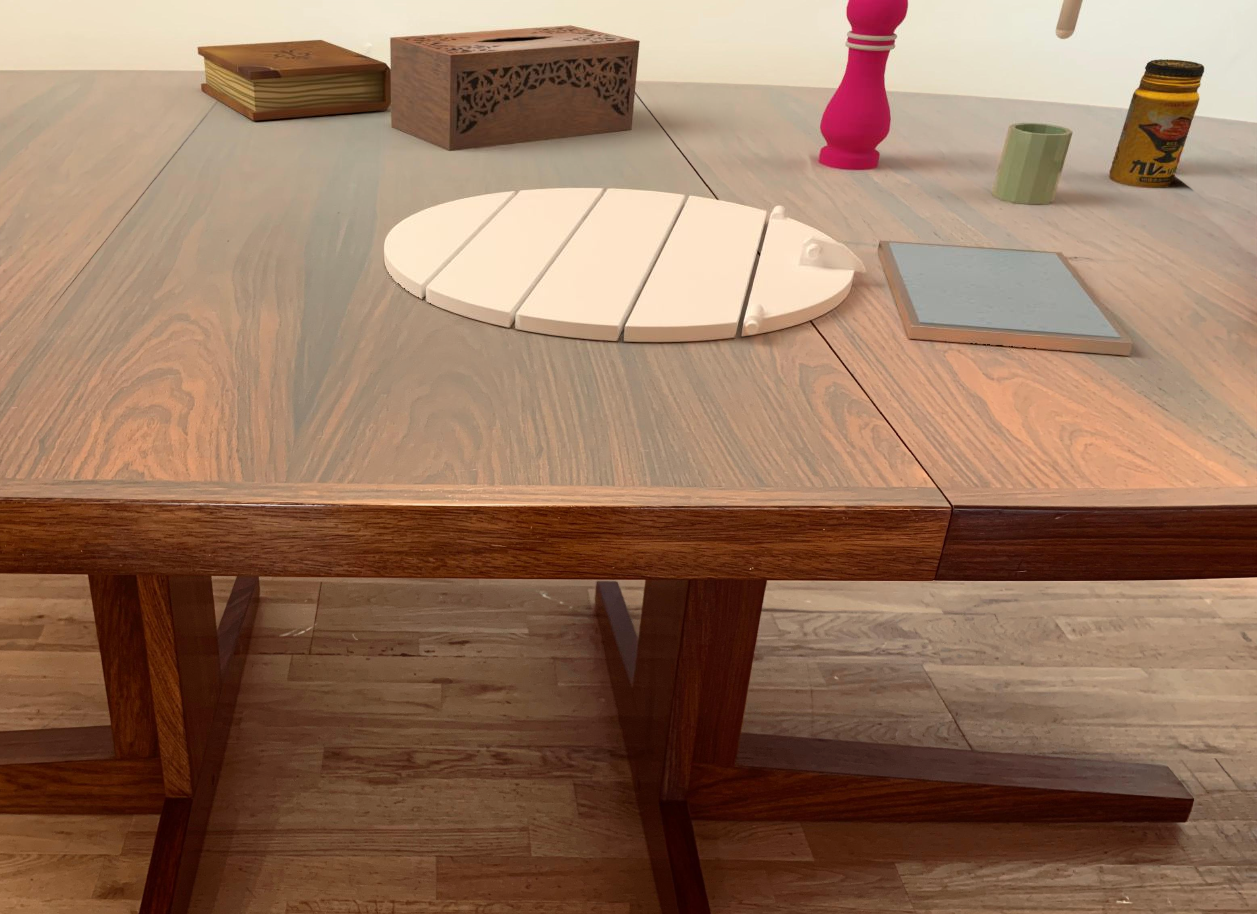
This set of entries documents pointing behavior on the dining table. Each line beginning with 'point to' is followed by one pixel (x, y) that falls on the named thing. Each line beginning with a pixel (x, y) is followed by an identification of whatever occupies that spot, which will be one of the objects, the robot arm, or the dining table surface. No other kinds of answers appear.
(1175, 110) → the condiment
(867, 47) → the pepper mill
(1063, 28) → the stylus
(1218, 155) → the dining table surface
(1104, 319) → the tablet
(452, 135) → the tissue box cover
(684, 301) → the round wooden slat board
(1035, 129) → the pen pot
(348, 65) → the diary
